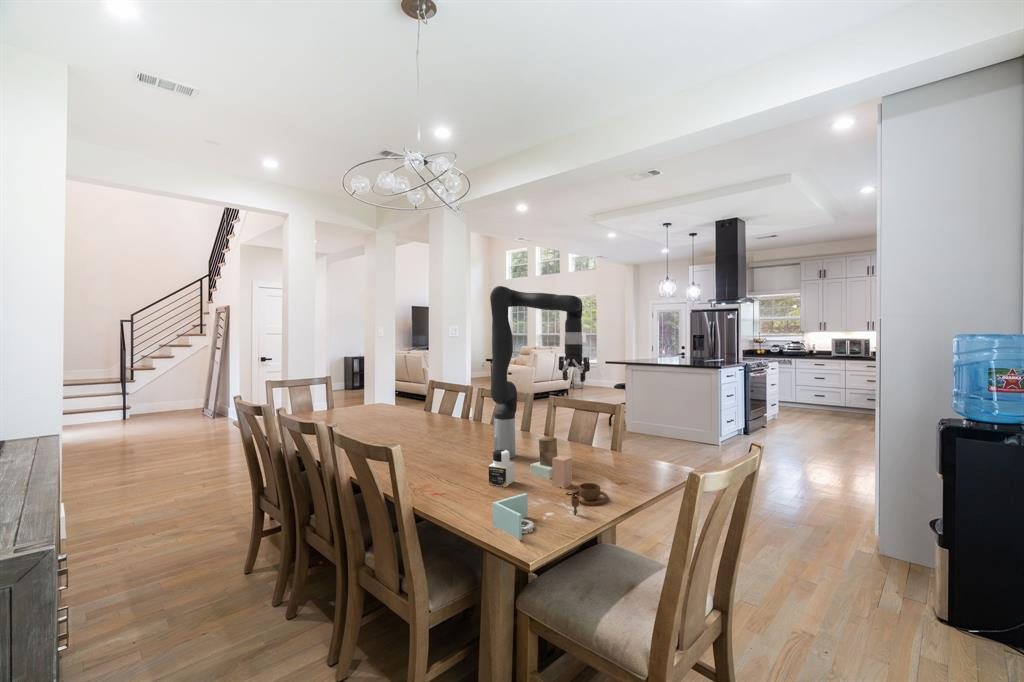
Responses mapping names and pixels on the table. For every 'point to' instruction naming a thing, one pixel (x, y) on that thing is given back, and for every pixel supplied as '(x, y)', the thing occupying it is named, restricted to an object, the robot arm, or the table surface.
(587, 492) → the place setting
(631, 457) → the table surface
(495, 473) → the medicine bottle
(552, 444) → the walnut pillar
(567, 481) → the terracotta pillar
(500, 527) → the l-shaped corner panel
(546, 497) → the table surface
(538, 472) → the sage base block
